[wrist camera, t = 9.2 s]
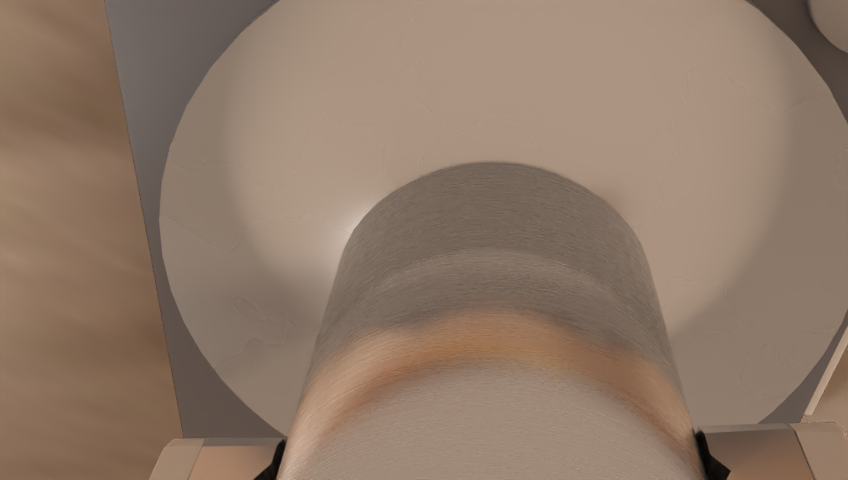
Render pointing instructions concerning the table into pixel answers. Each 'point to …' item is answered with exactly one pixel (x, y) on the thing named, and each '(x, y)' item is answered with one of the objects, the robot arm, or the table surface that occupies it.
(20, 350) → the table surface
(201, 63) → the scale base
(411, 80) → the scale pan
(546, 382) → the cylinder
